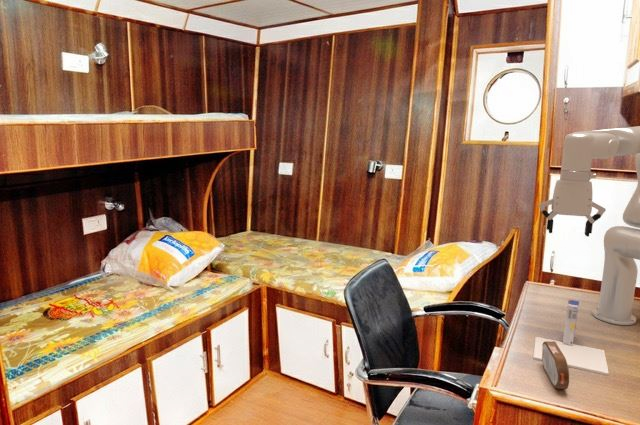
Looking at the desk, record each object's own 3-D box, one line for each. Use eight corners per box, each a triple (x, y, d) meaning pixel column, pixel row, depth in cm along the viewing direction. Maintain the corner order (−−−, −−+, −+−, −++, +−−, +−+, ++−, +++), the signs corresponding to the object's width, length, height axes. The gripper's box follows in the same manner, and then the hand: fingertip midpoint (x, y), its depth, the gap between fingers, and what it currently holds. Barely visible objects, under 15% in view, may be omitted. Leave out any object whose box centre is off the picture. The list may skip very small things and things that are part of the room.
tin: (568, 396, 110) (572, 364, 109) (554, 394, 111) (558, 362, 109) (550, 364, 125) (554, 336, 123) (538, 363, 126) (541, 334, 124)
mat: (535, 338, 140) (535, 336, 140) (603, 352, 132) (604, 350, 132) (533, 359, 128) (533, 357, 128) (608, 375, 120) (608, 373, 120)
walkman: (564, 335, 142) (569, 298, 141) (574, 337, 141) (579, 300, 139) (562, 343, 135) (567, 304, 134) (572, 345, 134) (578, 306, 132)
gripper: (606, 176, 133) (599, 233, 136) (541, 173, 139) (535, 228, 142) (612, 179, 126) (604, 239, 129) (542, 176, 132) (537, 233, 135)
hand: (568, 233), depth 136 cm, fingers open, 9 cm apart
